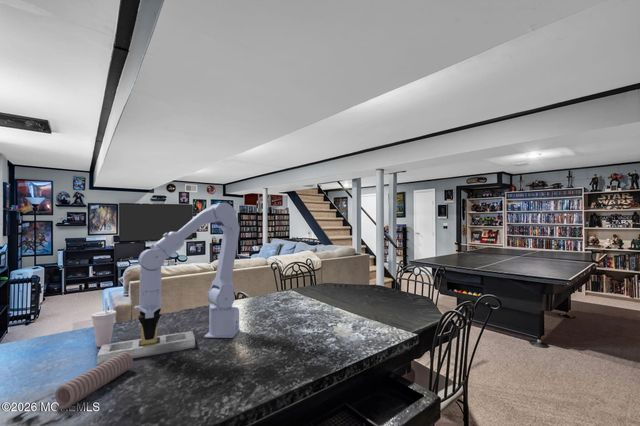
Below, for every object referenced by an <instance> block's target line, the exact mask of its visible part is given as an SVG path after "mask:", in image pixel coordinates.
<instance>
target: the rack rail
mask: <svg viewBox="0 0 640 426" xmlns="http://www.w3.org/2000/svg"><path fill="white" fill-rule="evenodd" d="M195 347H196V339H195V335H194V332H193V330H189V331H188V330H187V331H182V332H176V333H170V334H164V335H157V344H152V345H146V346H141V338H137V339H131V340H125V341H118V342H111V344H104V345H102V346H101V347H99V348H100V349H99V350H98V352H97V355H96V356H97V357H96V358H97V359H96V365H97V366H98V365H100V364H102V363H104V362H105V361H107V360H109V359H111V358H113V357H114V356H117V355H118V354H120V353H122V352H127V353H129V354H130V355H131V356H132V359H137V358H143V357H148V356H153V355H154V356H155V355H160V354H165V353H171V352H177V351H182V350H187V349H193V348H195Z"/></svg>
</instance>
